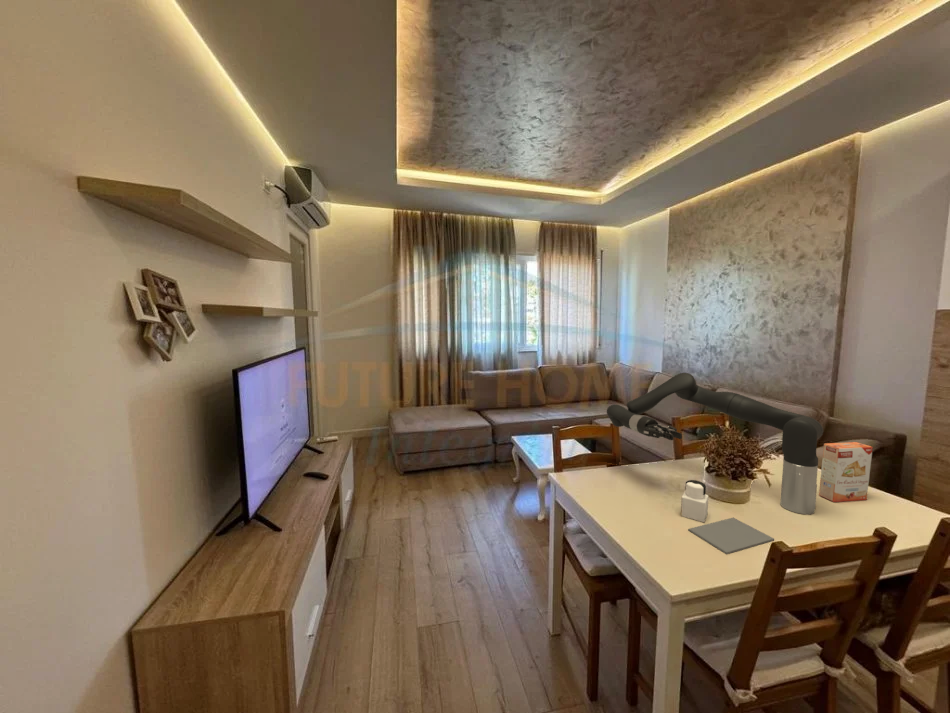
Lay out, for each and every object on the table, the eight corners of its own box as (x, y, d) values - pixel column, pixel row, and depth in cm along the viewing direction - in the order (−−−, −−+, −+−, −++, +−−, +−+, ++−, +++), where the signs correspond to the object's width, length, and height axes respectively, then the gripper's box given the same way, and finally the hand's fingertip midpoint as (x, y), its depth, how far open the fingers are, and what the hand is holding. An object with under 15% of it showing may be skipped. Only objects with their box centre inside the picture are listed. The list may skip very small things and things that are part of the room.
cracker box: (834, 503, 135) (839, 448, 133) (818, 495, 141) (822, 442, 139) (868, 500, 137) (873, 446, 135) (850, 493, 143) (855, 440, 141)
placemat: (733, 519, 126) (733, 517, 126) (774, 540, 114) (774, 538, 114) (688, 530, 120) (688, 528, 120) (726, 554, 108) (726, 552, 108)
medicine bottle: (684, 507, 134) (686, 476, 133) (707, 514, 130) (709, 481, 129) (680, 516, 129) (682, 483, 128) (704, 523, 124) (706, 489, 123)
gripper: (629, 418, 153) (662, 429, 137) (656, 414, 158) (691, 425, 141) (629, 435, 154) (661, 449, 138) (656, 431, 158) (691, 444, 142)
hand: (676, 437), depth 140 cm, fingers open, 3 cm apart
